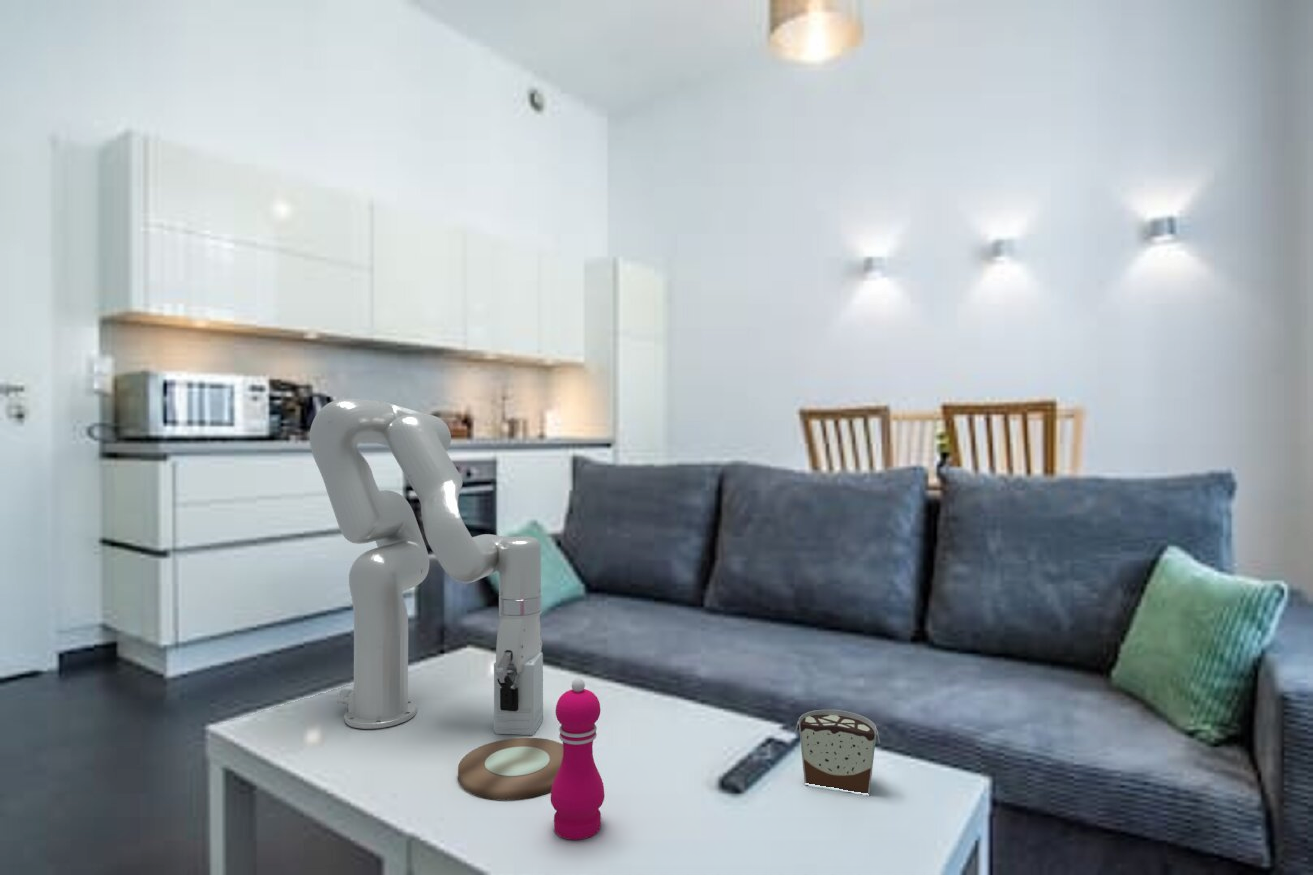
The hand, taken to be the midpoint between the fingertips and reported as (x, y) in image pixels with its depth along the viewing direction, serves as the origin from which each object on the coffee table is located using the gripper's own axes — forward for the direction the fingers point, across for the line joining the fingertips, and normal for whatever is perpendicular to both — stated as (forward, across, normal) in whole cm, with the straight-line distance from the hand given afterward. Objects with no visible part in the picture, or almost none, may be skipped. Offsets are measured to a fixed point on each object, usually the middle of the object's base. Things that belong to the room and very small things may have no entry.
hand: (521, 700), depth 129 cm
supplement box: (+5, 0, 0) cm, 5 cm away
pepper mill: (+5, +29, +21) cm, 36 cm away
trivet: (+5, +16, +7) cm, 18 cm away
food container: (+6, +7, +56) cm, 56 cm away
